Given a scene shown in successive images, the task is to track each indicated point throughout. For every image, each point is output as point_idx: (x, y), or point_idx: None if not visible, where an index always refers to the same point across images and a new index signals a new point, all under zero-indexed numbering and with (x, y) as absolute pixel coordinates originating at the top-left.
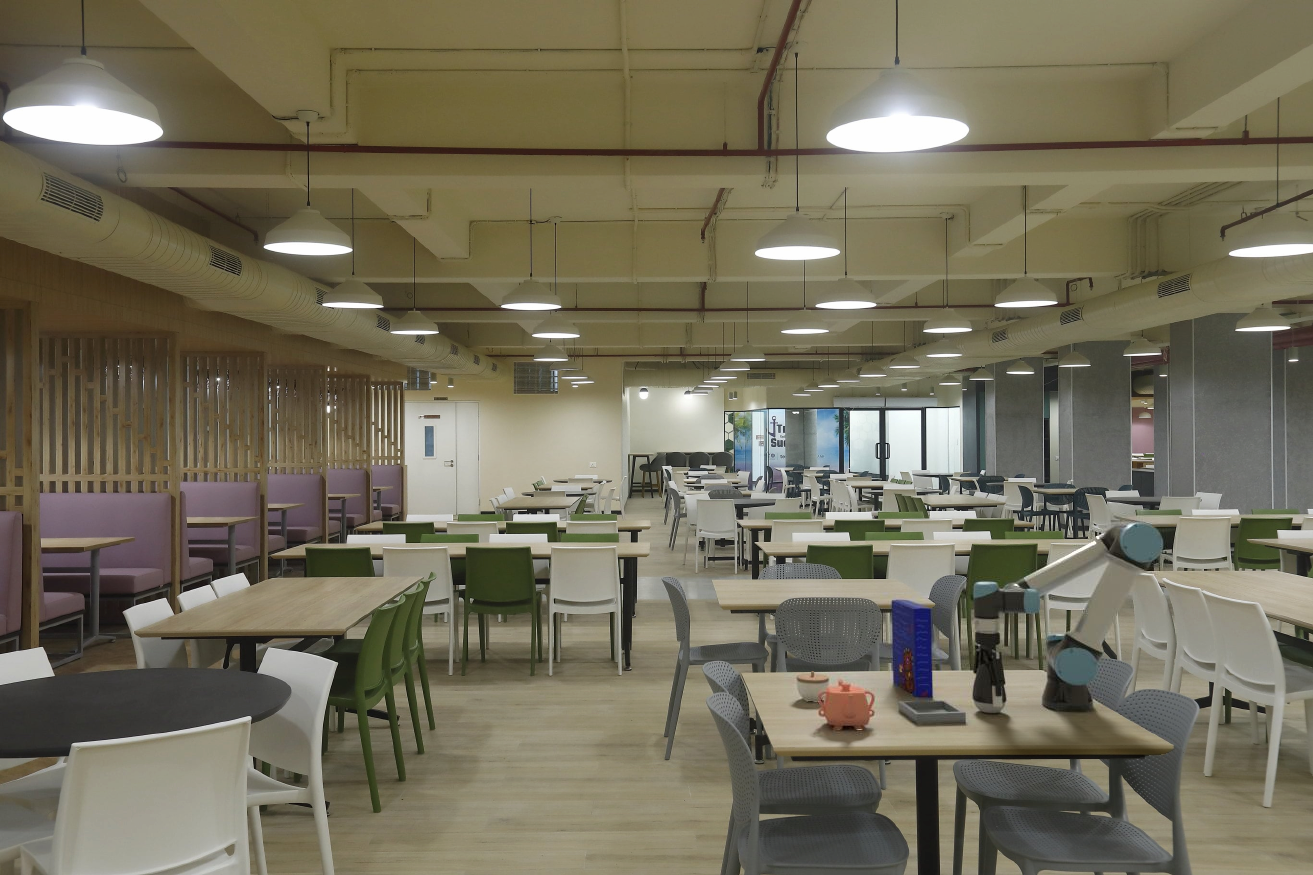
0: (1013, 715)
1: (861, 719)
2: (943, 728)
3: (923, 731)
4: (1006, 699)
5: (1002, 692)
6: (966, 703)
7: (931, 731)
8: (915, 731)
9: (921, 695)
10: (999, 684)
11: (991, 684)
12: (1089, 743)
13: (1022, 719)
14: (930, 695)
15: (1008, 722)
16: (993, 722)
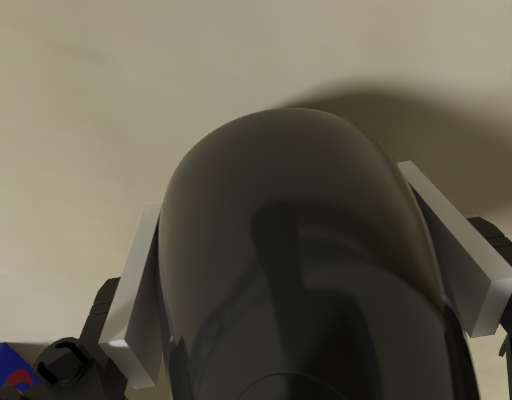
0: (359, 49)
1: None
2: (481, 349)
3: (489, 384)
4: (347, 121)
5: (417, 201)
6: (89, 245)
7: (498, 372)
8: (481, 395)
9: (30, 377)
10: None
11: (500, 354)
12: None
13: (470, 15)
14: (8, 354)
15: (500, 130)
16: (471, 200)
